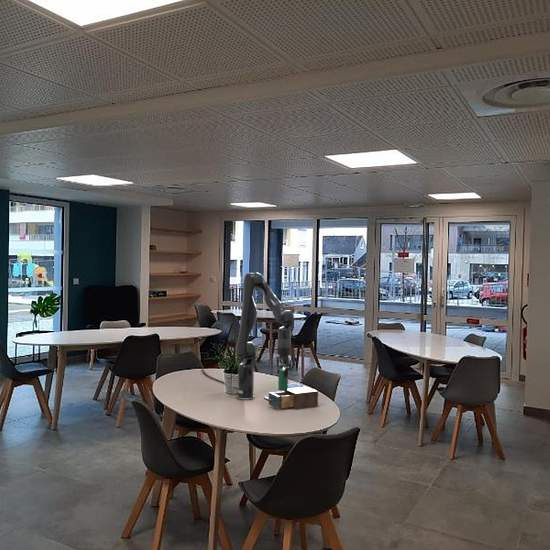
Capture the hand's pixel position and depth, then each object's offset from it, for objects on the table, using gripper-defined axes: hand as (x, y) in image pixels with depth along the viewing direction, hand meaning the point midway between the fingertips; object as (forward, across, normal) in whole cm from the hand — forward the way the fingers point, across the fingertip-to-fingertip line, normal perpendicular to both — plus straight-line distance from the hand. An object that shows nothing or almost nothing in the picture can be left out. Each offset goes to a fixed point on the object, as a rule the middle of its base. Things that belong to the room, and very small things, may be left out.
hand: (283, 376), depth 299 cm
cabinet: (+17, 0, -12) cm, 21 cm away
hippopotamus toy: (+18, +18, -18) cm, 31 cm away
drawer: (+17, 0, +1) cm, 17 cm away
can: (+8, 0, 0) cm, 8 cm away
